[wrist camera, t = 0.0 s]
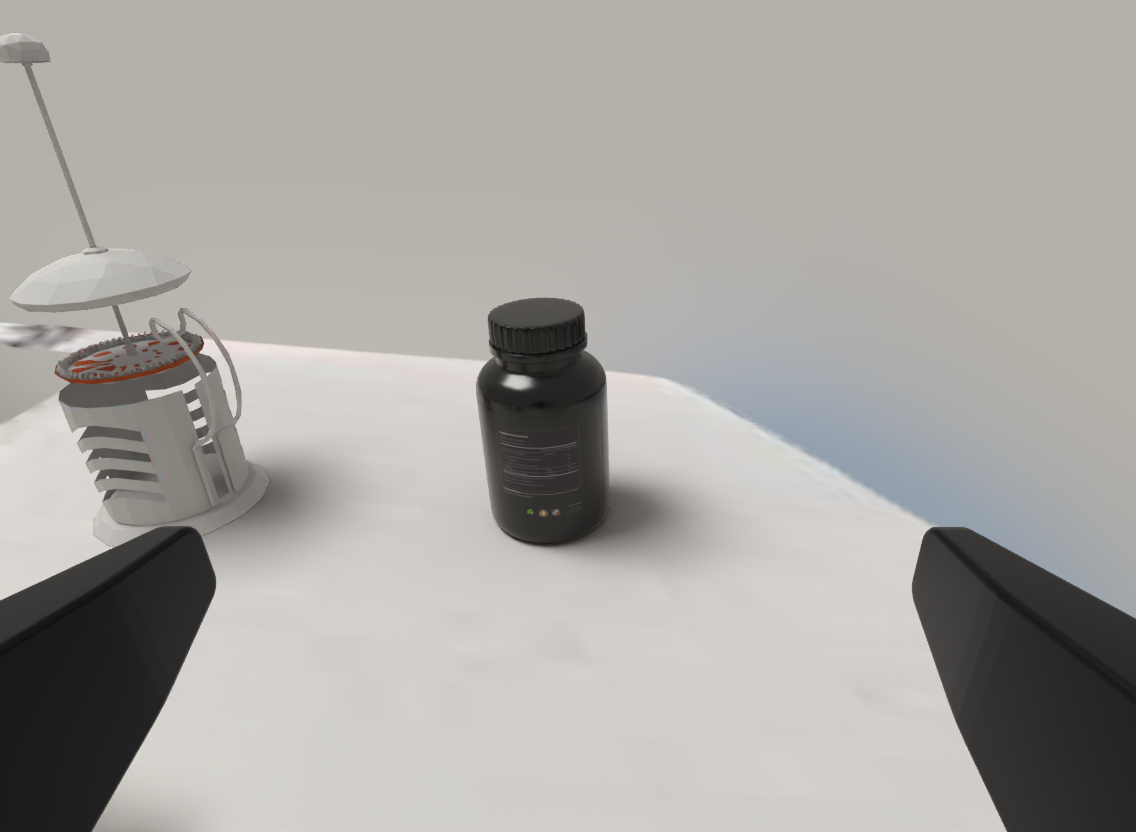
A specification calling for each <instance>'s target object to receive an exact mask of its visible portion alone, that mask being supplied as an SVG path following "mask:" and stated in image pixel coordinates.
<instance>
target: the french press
mask: <svg viewBox="0 0 1136 832" xmlns="http://www.w3.org/2000/svg"><path fill="white" fill-rule="evenodd" d="M0 62H4V63H22V65H23V66H24V67H25V70H26V72H27V75H28V77H29V80H30V83H31V86H32V89H33V91H34V94H35V97H36V99H37V102H38V105H39V108H40V110H41V113H42V116H43V119H44V121H45V124H46V127H47V129H48V132H49V135H50V138H51V141H52V143H53V146H54V149H55V152H56V154H57V157H58V160H59V162H60V165H61V168H62V170H63V173H64V176H65V179H66V181H67V184H68V187H69V189H70V192H71V195H72V198H73V201H74V203H75V206H76V209H77V211H78V214H79V217H80V220H81V223H82V225H83V228H84V230H85V233H86V236H87V239H88V241H89V244H90V247H88V248H86V249H85V250H83V251H82V252H83V253H79V254H75V255H72V256H68V257H64V258H62V259H60V260H58V261H56V262H53V263H52V264H50V265H48V266H46V267H44V268H42V269H40V270H38V271H37V272H35V273H33V274H31V275H30V276H29V277H28V278H27V279H26V280H25V281H24V282H23V283H22V284H21V285H20V286H19V287H18V288H17V289H16V290H15V291H14V292H13V294H12V296H11V298H10V300H11V301H12V302H13V303H14V304H15V305H17V306H18V307H20V308H22V309H25V310H27V311H33V312H65V311H77V310H88V309H94V308H100V307H106V306H112V307H113V310H114V312H115V315H116V318H117V321H118V324H119V326H120V329H121V332H122V335H123V337H124V338H123V339H122V338H121V337H118V339H117V340H116V339H115V338H114V337H113V339H112V340H111V341H109V340H105V343H104V342H99V345H98V344H93V345H89V346H88V347H87V348H82V349H80V350H78V351H76V352H74V353H71V354H70V355H68V356H67V357H65V358H64V359H63V360H60V361H58V365H56V369H55V374H56V375H57V376H59V377H60V378H63V379H64V380H67V381H68V382H70V384H69V385H67V386H66V387H65V388H64V389H62V390H61V391H60V395H59V402H60V404H61V407H62V409H63V411H64V414H65V416H66V419H67V421H68V424H69V426H70V428H71V431H72V433H73V432H74V431H75V430H76V429H77V428H80V427H87V429H86V430H85V432H84V433H83V435H82V436H81V438H80V439H79V441H78V442H77V444H78V446H79V448H80V450H81V452H82V453H83V452H85V451H87V450H91V449H94V450H93V451H92V453H91V455H90V456H89V458H88V460H87V461H86V465H87V467H88V469H89V471H90V473H92V472H94V471H96V470H100V472H99V473H98V475H97V477H96V479H95V481H94V484H95V486H96V488H97V489H98V491H99V492H102V491H104V490H107V491H106V493H105V494H104V497H103V500H102V502H103V506H102V507H101V508H100V510H99V511H98V513H97V514H96V516H95V517H94V521H93V535H94V536H96V537H97V538H98V539H100V540H101V541H102V542H104V543H105V544H106V545H108V546H114V547H116V546H118V545H121V544H123V543H125V542H127V541H129V540H131V539H133V538H136V537H138V536H140V535H142V534H144V533H146V532H148V531H151V530H153V529H155V528H157V527H161V526H191V527H193V528H195V529H197V531H198V532H199V533H200V535H204V534H207V533H210V532H213V531H215V530H216V529H218V528H220V527H222V526H224V525H226V524H228V523H229V522H231V521H233V520H235V519H237V518H239V517H241V516H242V515H244V514H245V513H246V512H247V511H248V510H249V509H251V508H252V507H253V506H254V505H255V504H256V503H257V502H258V501H259V500H261V499H262V498H263V496H264V494H265V492H266V489H267V487H268V485H269V482H270V480H269V477H268V475H267V473H266V471H265V468H262V467H260V466H258V465H256V464H254V463H252V462H250V461H247V460H245V456H244V453H243V449H242V446H241V444H240V440H239V436H238V433H237V430H236V428H235V424H236V423H237V421H238V419H239V418H240V416H241V389H240V385H239V382H238V379H237V375H236V372H235V369H234V366H233V363H232V361H231V359H230V356H229V354H228V352H227V350H226V349H225V347H224V346H223V345H222V343H221V342H220V340H219V339H218V338H217V336H216V335H215V333H214V332H213V331H212V330H211V329H210V328H209V326H208V325H207V324H206V323H205V322H204V321H203V320H202V319H201V318H200V317H198V316H197V315H195V314H194V313H193V312H191V311H190V310H188V309H187V308H180V310H179V312H178V316H179V319H180V322H181V326H180V330H179V331H177V332H176V331H175V330H174V329H173V328H171V327H170V326H168V325H167V324H165V323H164V322H162V321H161V320H160V319H158V318H151V320H150V322H149V325H150V328H151V331H152V332H150V334H146V332H144V335H140V334H138V336H134V335H132V334H131V337H129V336H128V333H127V330H126V328H125V325H124V322H123V319H122V317H121V314H120V311H119V309H118V306H117V305H118V304H124V303H128V302H132V301H136V300H141V299H144V298H149V297H152V296H156V295H159V294H162V293H164V292H167V291H170V290H172V289H175V288H178V287H179V286H180V285H181V284H182V283H183V282H185V281H186V280H187V279H188V276H189V275H190V273H191V269H190V267H189V265H186V264H184V263H181V262H179V261H176V260H174V259H172V258H170V257H167V256H162V255H156V254H151V253H145V252H141V251H136V250H131V249H107V248H106V247H102V246H96V245H95V242H94V239H93V237H92V234H91V231H90V228H89V226H88V223H87V220H86V217H85V215H84V212H83V209H82V206H81V204H80V201H79V198H78V196H77V193H76V190H75V187H74V184H73V181H72V179H71V176H70V173H69V170H68V168H67V165H66V162H65V159H64V157H63V154H62V151H61V148H60V146H59V143H58V140H57V137H56V135H55V132H54V129H53V126H52V124H51V121H50V118H49V115H48V113H47V110H46V107H45V104H44V102H43V99H42V96H41V93H40V91H39V88H38V85H37V82H36V80H35V77H34V74H33V71H32V69H31V66H32V63H41V62H50V57H49V52H48V51H47V49H46V48H45V46H44V45H43V43H41V42H40V41H38V40H37V39H35V38H34V37H32V36H29V35H24V34H19V33H12V34H7V35H3V36H1V37H0ZM183 313H185V314H187V315H188V316H189V317H191V318H193V319H194V320H196V321H197V322H198V323H199V324H200V325H201V326H202V327H203V328H204V329H205V331H206V332H207V333H208V334H209V335H210V336H211V337H212V338H213V340H214V341H215V343H216V344H217V346H218V348H219V349H220V351H221V352H222V354H223V356H224V358H225V360H226V362H227V363H228V365H229V367H230V371H231V375H232V378H233V382H234V386H235V391H236V399H237V412H236V416H235V418H234V419H233V416H232V414H231V411H230V409H229V405H228V401H227V397H226V393H225V391H224V389H223V385H222V380H221V377H220V374H219V371H218V368H217V365H216V362H215V361H214V360H213V359H212V358H211V357H210V356H206V355H203V354H200V353H199V352H200V351H201V350H202V348H203V345H204V342H203V339H202V337H201V336H197V335H194V334H191V333H189V332H187V331H186V322H185V318H184V315H183ZM155 323H157V324H158V325H160V326H161V327H163V328H164V329H166V330H167V332H165V333H164V330H163V331H162V333H158V331H157V330H156V326H155ZM102 343H103V344H102ZM94 345H95V346H94ZM89 347H90V348H89ZM84 349H85V350H84ZM208 372H211V373H210V374H209V375H208V376H206V373H208ZM199 375H200V377H201V381H199V382H198V383H196V384H195V388H196V389H194V390H192V391H190V392H188V393H185V394H183V392H182V390H181V391H178V392H175V393H172V394H169V395H166V396H163V397H159V398H155V399H150V400H148V398H147V395H146V392H145V390H160V389H167V388H171V387H174V386H177V385H181V384H184V383H186V382H188V381H190V380H191V379H193V378H195V377H197V376H199ZM198 398H199V400H200V403H201V406H202V407H200V408H198V409H196V410H194V411H191V412H189V410H188V407H187V404H188V403H191V402H193V401H194V400H196V399H198ZM204 416H205V419H206V422H207V425H205V426H203V427H201V428H198V429H195V427H194V424H193V421H196V420H198V419H200V418H202V417H204ZM204 436H206V437H205V438H204V439H202V440H199V438H202V437H204ZM211 437H212V440H213V442H211V443H209V444H206V445H203V446H201V445H202V444H204V443H206V442H207V441H209V440H210V439H211ZM99 457H101V458H100V459H99ZM107 475H108V476H109V478H110V479H106V477H107Z"/></svg>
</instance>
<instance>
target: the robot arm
mask: <svg viewBox="0 0 1136 832" xmlns="http://www.w3.org/2000/svg"><path fill="white" fill-rule="evenodd" d="M215 589H216V576H215V573H214V570H213V567H212V564H211V562H210V559H209V556H208V553H207V551H206V548H205V545H204V542H203V539H202V537H201V535H200V533H199V532H198V531H197V529H195V528H193V527H191V526H161V527H157V528H155V529H153V530H151V531H148V532H146V533H144V534H142V535H140V536H138V537H136V538H133V539H131V540H129V541H127V542H125V543H123V544H121V545H118V546H116V547H114V548H112V549H110V550H108V551H106V552H103V553H101V554H99V555H97V556H95V557H93V558H91V559H88V560H86V561H84V562H82V563H80V564H78V565H76V566H73V567H71V568H69V569H67V570H65V571H63V572H61V573H58V574H56V575H54V576H52V577H50V578H48V579H46V580H43V581H41V582H39V583H37V584H35V585H33V586H31V587H28V588H26V589H24V590H22V591H20V592H18V593H16V594H13V595H11V596H9V597H7V598H5V599H3V600H0V832H92V831H93V829H94V827H95V825H96V824H97V822H98V820H99V818H100V817H101V815H102V813H103V811H104V810H105V808H106V806H107V804H108V803H109V801H110V799H111V797H112V796H113V794H114V792H115V790H116V789H117V787H118V785H119V783H120V782H121V780H122V778H123V776H124V775H125V773H126V771H127V769H128V768H129V766H130V764H131V762H132V761H133V759H134V757H135V756H136V754H137V752H138V750H139V749H140V747H141V745H142V743H143V742H144V740H145V738H146V736H147V735H148V733H149V731H150V729H151V728H152V726H153V724H154V722H155V720H156V719H157V717H158V715H159V713H160V711H161V709H162V707H163V706H164V704H165V702H166V700H167V697H168V695H169V693H170V691H171V689H172V687H173V685H174V683H175V681H176V678H177V676H178V674H179V672H180V670H181V667H182V665H183V663H184V661H185V659H186V656H187V654H188V652H189V650H190V648H191V645H192V643H193V641H194V639H195V636H196V634H197V632H198V630H199V628H200V625H201V623H202V621H203V619H204V617H205V614H206V612H207V610H208V608H209V605H210V603H211V601H212V599H213V596H214V593H215ZM912 595H913V600H914V604H915V607H916V609H917V612H918V615H919V618H920V621H921V624H922V627H923V630H924V633H925V636H926V638H927V641H928V644H929V647H930V650H931V653H932V656H933V659H934V662H935V665H936V667H937V670H938V673H939V676H940V679H941V682H942V685H943V688H944V691H945V694H946V696H947V699H948V702H949V705H950V707H951V710H952V713H953V715H954V718H955V721H956V723H957V725H958V728H959V730H960V732H961V735H962V737H963V739H964V741H965V744H966V746H967V748H968V750H969V752H970V754H971V756H972V758H973V761H974V763H975V765H976V767H977V769H978V771H979V773H980V775H981V778H982V780H983V782H984V784H985V786H986V788H987V790H988V792H989V794H990V797H991V799H992V801H993V803H994V805H995V807H996V809H997V811H998V814H999V816H1000V818H1001V820H1002V822H1003V824H1004V826H1005V828H1006V831H1007V832H1136V619H1135V618H1134V617H1132V616H1130V615H1128V614H1126V613H1124V612H1122V611H1121V610H1119V609H1117V608H1115V607H1113V606H1111V605H1109V604H1107V603H1106V602H1104V601H1102V600H1100V599H1098V598H1097V597H1094V596H1093V595H1091V594H1089V593H1087V592H1085V591H1083V590H1081V589H1080V588H1078V587H1076V586H1074V585H1072V584H1071V583H1069V582H1067V581H1065V580H1063V579H1061V578H1059V577H1057V576H1056V575H1054V574H1052V573H1050V572H1048V571H1046V570H1045V569H1043V568H1041V567H1039V566H1037V565H1035V564H1034V563H1032V562H1030V561H1028V560H1026V559H1024V558H1022V557H1021V556H1019V555H1017V554H1015V553H1013V552H1011V551H1009V550H1008V549H1006V548H1004V547H1002V546H1000V545H998V544H997V543H994V542H993V541H991V540H989V539H987V538H985V537H984V536H982V535H980V534H978V533H976V532H974V531H973V530H970V529H968V528H964V527H932V528H931V529H929V530H927V532H926V533H925V535H924V537H923V540H922V544H921V548H920V552H919V556H918V560H917V564H916V569H915V573H914V577H913V582H912Z"/></svg>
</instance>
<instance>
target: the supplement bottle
mask: <svg viewBox="0 0 1136 832" xmlns="http://www.w3.org/2000/svg"><path fill="white" fill-rule="evenodd" d="M488 327H489V336H490V339H489V348H490V352H491V354H492V355H493V356H495V357H493V358H492V359H491V360H489V361H488V362H487V363H486V364H485V365H484V367H483V368H482V370H481V371H480V373H479V376H478V378H477V382H476V395H477V403H478V411H479V419H480V427H481V434H482V442H483V450H484V457H485V465H486V473H487V481H488V488H489V496H490V502H491V509H492V513H493V516H494V519H495V521H496V522H497V524H498V525H499V526H500V527H501V528H502V529H503V530H504V531H505V532H507V533H508V534H510V535H512V536H513V537H516V538H518V539H521V540H524V541H528V542H533V543H544V544H548V543H560V542H565V541H569V540H573V539H576V538H578V537H581V536H583V535H585V534H587V533H588V532H590V531H592V530H593V529H594V528H596V527H597V526H598V525H599V524H600V523H601V521H602V520H603V519H604V517H605V516H606V514H607V511H608V508H609V502H610V489H609V488H610V483H609V447H608V412H607V383H606V375H605V371H604V369H603V368H602V366H601V364H600V363H599V362H598V360H597V359H595V357H593V356H592V355H591V354H590V353H588V352H586V351H584V349H585V348H586V346H587V333H586V332H585V316H584V310H583V308H582V307H581V306H580V305H579V304H576V303H575V302H572V301H570V300H564V299H557V298H531V299H523V300H518V301H512V302H510V303H506V304H503V305H501V306H498V307H497V308H494V309H493V310H492V311H490V314H489V315H488Z"/></svg>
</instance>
